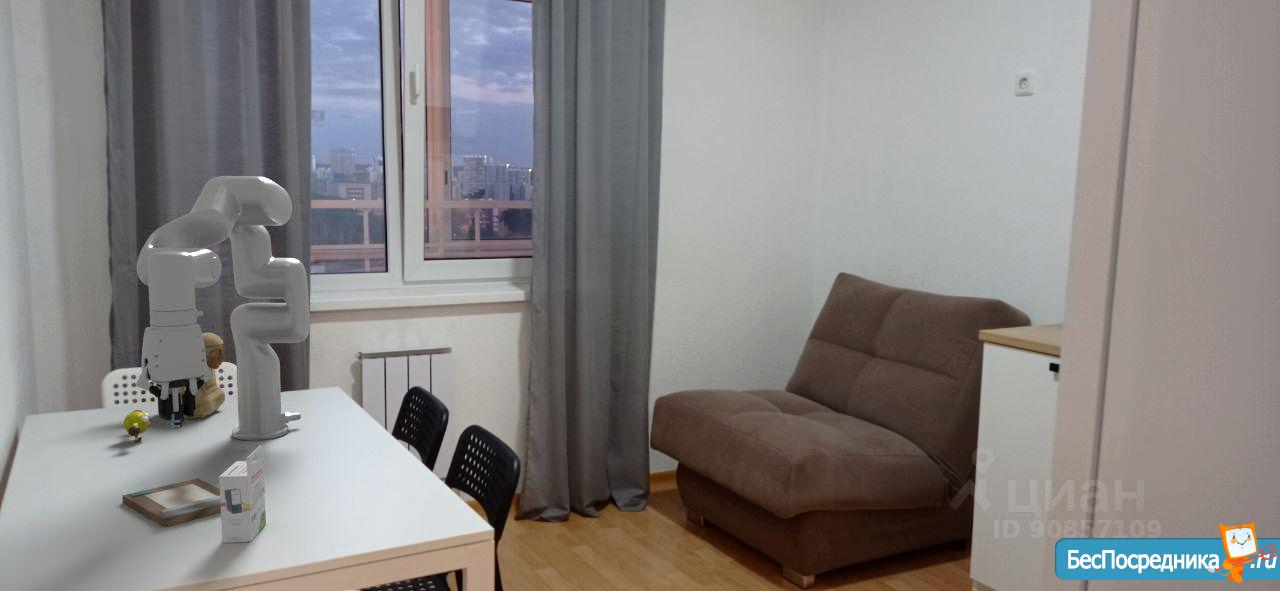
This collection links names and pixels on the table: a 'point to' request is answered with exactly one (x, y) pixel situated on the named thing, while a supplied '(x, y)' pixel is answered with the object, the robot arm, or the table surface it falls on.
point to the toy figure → (136, 423)
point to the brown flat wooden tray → (176, 502)
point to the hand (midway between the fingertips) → (177, 416)
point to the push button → (177, 402)
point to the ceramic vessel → (209, 393)
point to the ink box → (243, 499)
